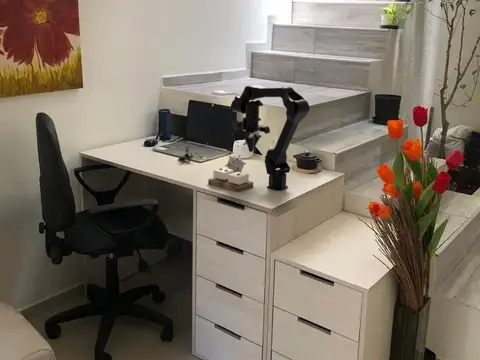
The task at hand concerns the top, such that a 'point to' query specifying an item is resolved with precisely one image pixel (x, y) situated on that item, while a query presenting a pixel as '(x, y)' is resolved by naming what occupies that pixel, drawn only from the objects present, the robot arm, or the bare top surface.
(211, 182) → the brown flat slab
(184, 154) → the eagle figurine
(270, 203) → the top surface
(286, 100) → the robot arm
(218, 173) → the tile two
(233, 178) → the tile one
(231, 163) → the game die
